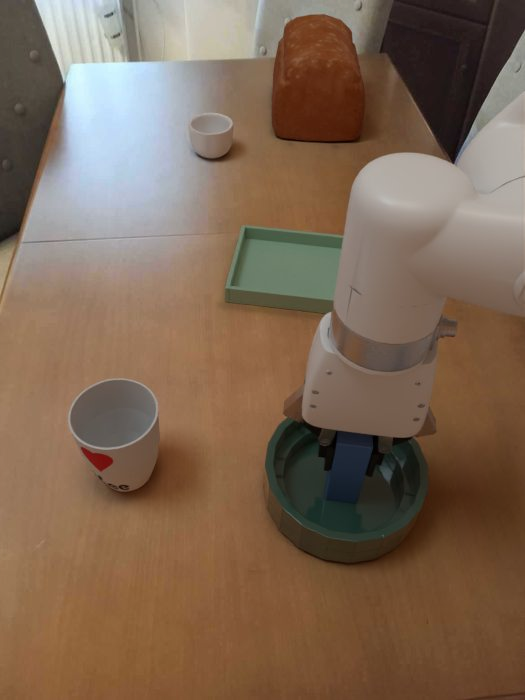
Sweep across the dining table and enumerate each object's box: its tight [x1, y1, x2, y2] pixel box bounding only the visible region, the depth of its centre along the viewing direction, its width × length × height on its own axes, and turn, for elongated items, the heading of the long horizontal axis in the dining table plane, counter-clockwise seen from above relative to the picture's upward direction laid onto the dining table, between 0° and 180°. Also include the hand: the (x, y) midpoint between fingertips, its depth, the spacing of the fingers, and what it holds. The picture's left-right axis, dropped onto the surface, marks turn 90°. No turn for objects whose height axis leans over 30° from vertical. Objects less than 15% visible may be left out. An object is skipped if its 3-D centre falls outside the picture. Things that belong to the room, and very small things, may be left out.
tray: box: [224, 224, 344, 315], centre depth 83 cm, size 19×14×2 cm
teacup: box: [187, 112, 234, 159], centre depth 105 cm, size 10×8×5 cm
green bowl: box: [262, 417, 430, 564], centre depth 59 cm, size 16×16×5 cm
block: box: [325, 430, 373, 503], centre depth 57 cm, size 3×3×10 cm
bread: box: [271, 13, 366, 142], centre depth 112 cm, size 17×24×15 cm
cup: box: [67, 377, 161, 493], centre depth 58 cm, size 8×8×10 cm
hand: (348, 459), depth 57 cm, fingers closed on block, 3 cm apart
